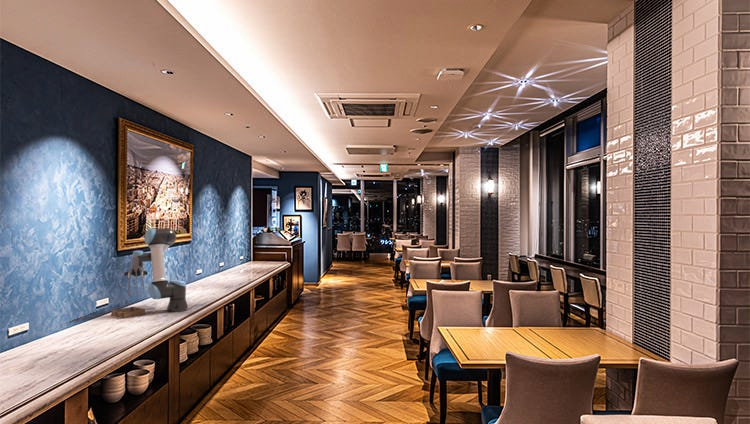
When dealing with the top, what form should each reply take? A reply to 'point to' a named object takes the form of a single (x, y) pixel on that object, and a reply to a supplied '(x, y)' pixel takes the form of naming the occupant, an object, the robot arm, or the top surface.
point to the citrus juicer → (135, 266)
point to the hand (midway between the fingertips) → (135, 275)
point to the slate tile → (146, 307)
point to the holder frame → (128, 312)
